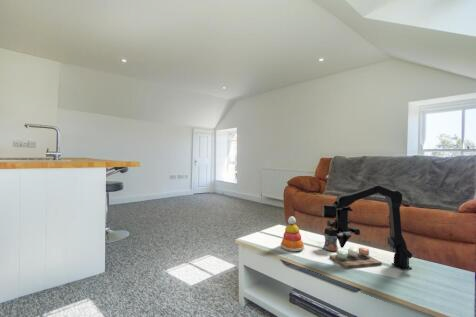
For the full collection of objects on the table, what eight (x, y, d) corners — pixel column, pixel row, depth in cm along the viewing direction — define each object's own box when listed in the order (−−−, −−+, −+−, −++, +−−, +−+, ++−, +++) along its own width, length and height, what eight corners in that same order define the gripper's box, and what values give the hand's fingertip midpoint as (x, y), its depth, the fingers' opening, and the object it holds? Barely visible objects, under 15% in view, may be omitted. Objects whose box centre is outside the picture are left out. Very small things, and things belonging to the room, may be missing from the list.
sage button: (342, 255, 130) (342, 250, 130) (349, 259, 125) (349, 254, 125) (335, 255, 128) (335, 251, 128) (341, 259, 123) (341, 255, 123)
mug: (336, 253, 137) (336, 235, 137) (320, 249, 143) (320, 232, 143) (342, 247, 147) (342, 231, 147) (327, 244, 152) (327, 227, 153)
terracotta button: (364, 251, 133) (364, 247, 133) (371, 255, 128) (371, 250, 128) (356, 252, 132) (356, 247, 132) (363, 255, 127) (363, 251, 127)
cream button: (353, 252, 131) (353, 248, 131) (360, 256, 126) (360, 251, 126) (346, 253, 130) (346, 248, 130) (352, 256, 125) (352, 252, 125)
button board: (362, 255, 136) (363, 251, 136) (381, 265, 123) (381, 261, 123) (329, 258, 130) (329, 254, 130) (345, 268, 118) (345, 264, 118)
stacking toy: (309, 249, 142) (309, 217, 142) (293, 254, 134) (293, 220, 134) (291, 242, 154) (292, 213, 154) (275, 246, 146) (276, 215, 146)
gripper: (347, 214, 137) (346, 241, 137) (318, 215, 132) (318, 243, 132) (361, 219, 126) (360, 248, 126) (331, 220, 121) (330, 250, 121)
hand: (341, 247), depth 127 cm, fingers closed
